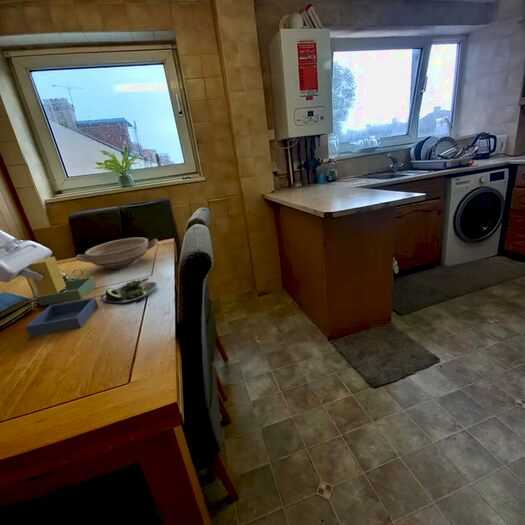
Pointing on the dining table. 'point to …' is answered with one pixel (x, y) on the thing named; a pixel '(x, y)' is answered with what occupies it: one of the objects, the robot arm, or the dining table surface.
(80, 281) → the green bin
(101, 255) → the ceramic bowl
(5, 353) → the dining table surface
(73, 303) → the blue bin
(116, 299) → the salad plate
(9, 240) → the robot arm
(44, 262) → the yellow box
